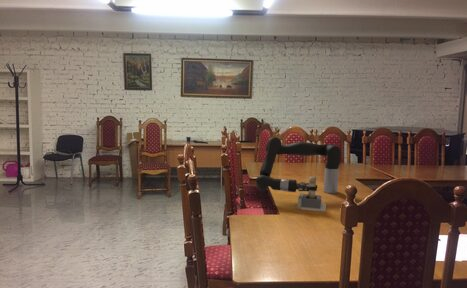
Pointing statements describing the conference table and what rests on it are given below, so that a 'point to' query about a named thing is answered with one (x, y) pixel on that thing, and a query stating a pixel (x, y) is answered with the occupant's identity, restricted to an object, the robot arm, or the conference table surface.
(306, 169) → the conference table surface
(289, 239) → the conference table surface
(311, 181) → the dowel
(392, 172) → the conference table surface
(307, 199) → the dowel dock
